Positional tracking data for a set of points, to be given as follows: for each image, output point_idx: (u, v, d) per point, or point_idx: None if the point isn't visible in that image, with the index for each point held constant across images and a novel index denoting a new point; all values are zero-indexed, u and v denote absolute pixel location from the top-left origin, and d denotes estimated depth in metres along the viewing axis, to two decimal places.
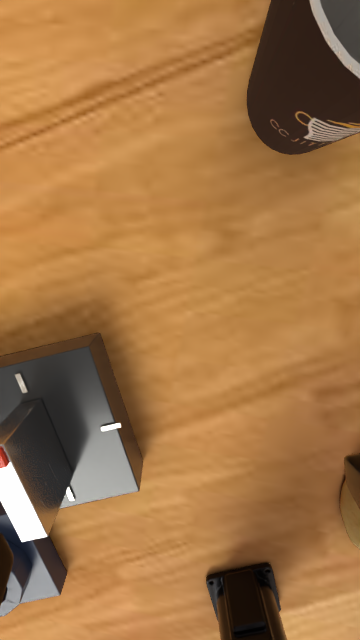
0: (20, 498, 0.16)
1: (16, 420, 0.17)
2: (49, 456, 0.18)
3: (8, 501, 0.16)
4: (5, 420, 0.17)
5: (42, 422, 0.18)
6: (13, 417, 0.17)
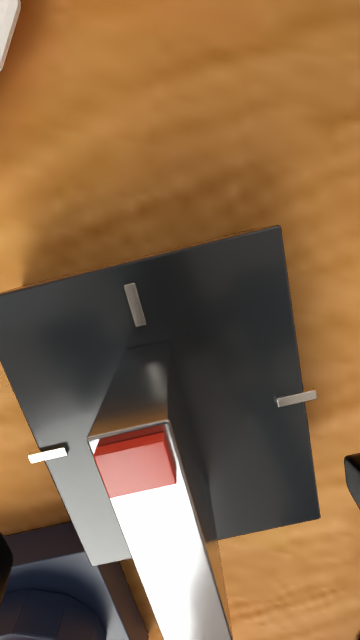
0: (188, 563, 0.06)
1: (148, 371, 0.07)
2: (196, 455, 0.09)
3: (157, 569, 0.06)
4: (120, 374, 0.08)
5: (179, 385, 0.09)
6: (135, 368, 0.08)
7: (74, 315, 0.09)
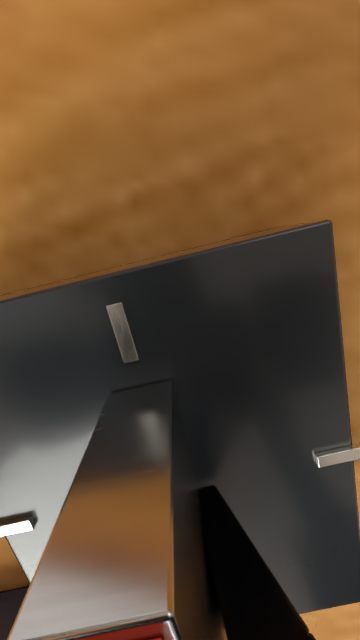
0: None
1: (139, 446, 0.05)
2: None
3: None
4: (96, 447, 0.05)
5: (186, 447, 0.06)
6: (120, 437, 0.05)
7: (37, 346, 0.07)
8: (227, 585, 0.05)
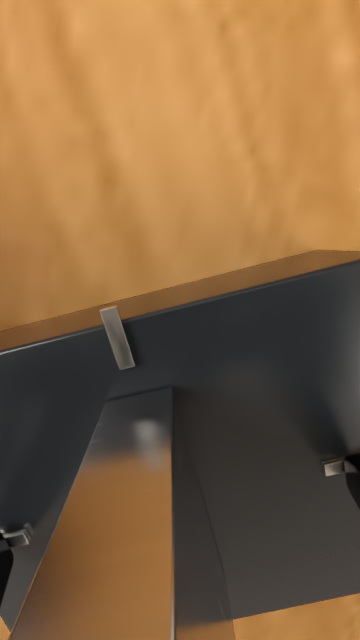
0: None
1: (137, 462, 0.04)
2: (212, 567, 0.06)
3: None
4: (91, 461, 0.05)
5: (187, 459, 0.06)
6: (117, 449, 0.05)
7: (347, 389, 0.07)
8: None
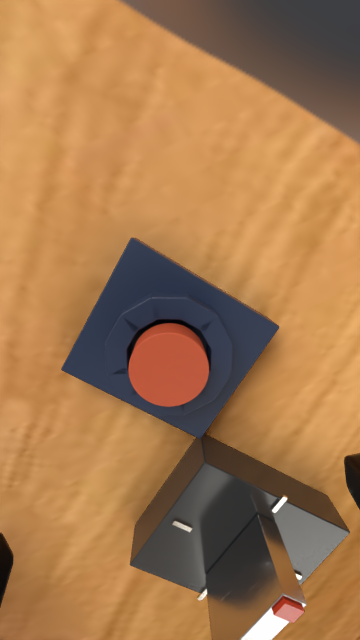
0: None
1: (282, 554, 0.17)
2: None
3: (251, 637, 0.15)
4: (270, 544, 0.17)
5: None
6: (274, 544, 0.17)
7: (311, 554, 0.20)
8: None
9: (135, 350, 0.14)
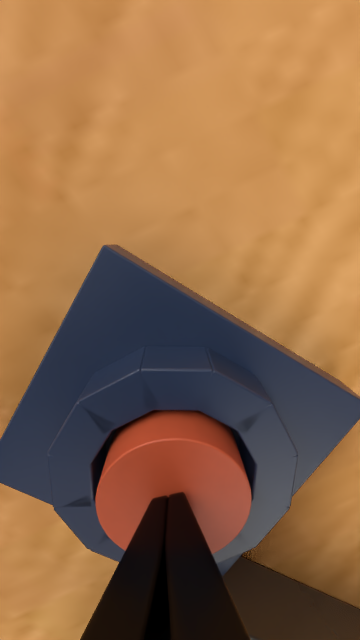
0: None
1: None
2: None
3: None
4: None
5: None
6: None
7: None
8: (180, 595, 0.05)
9: (108, 469, 0.07)
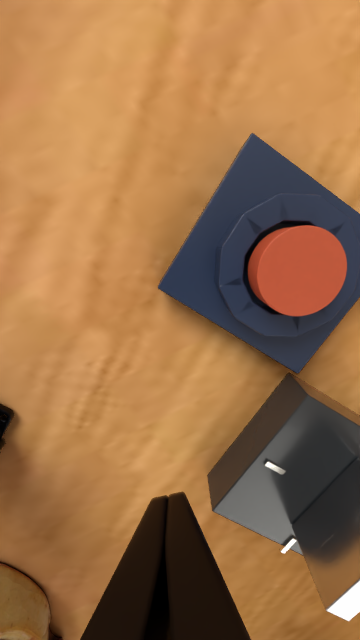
0: None
1: None
2: None
3: None
4: None
5: None
6: None
7: None
8: (179, 594, 0.05)
9: (268, 246, 0.12)
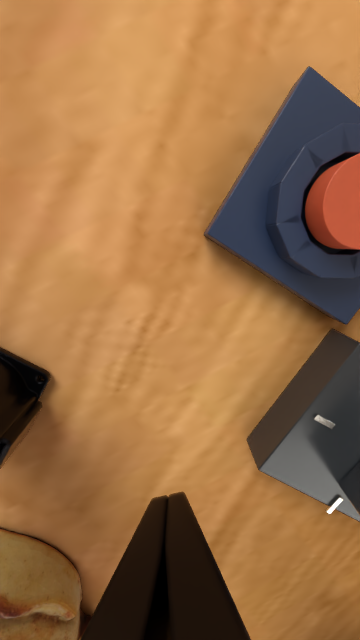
0: None
1: None
2: None
3: None
4: None
5: None
6: None
7: None
8: (180, 595, 0.05)
9: (335, 173, 0.12)
